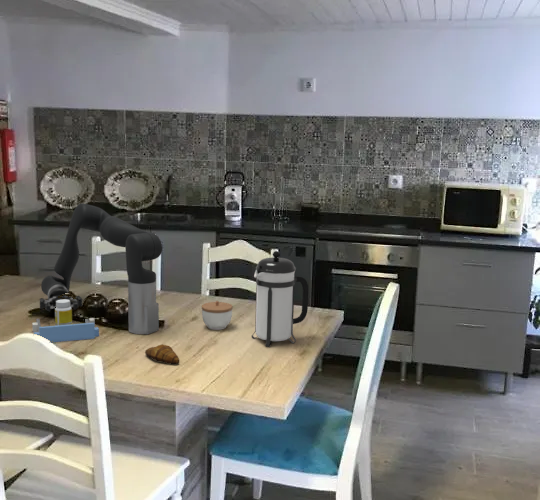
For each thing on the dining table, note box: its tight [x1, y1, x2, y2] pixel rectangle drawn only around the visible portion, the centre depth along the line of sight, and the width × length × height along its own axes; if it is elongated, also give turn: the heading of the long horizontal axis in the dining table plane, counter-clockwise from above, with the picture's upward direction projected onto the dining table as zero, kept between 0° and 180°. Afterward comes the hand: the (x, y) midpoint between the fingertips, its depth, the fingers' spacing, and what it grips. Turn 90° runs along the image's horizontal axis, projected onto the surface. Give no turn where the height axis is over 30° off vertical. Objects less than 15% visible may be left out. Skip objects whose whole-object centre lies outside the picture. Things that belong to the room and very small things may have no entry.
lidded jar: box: [201, 300, 234, 331], centre depth 227 cm, size 11×11×9 cm
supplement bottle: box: [54, 299, 73, 326], centre depth 220 cm, size 6×5×10 cm
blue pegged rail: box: [31, 317, 100, 343], centre depth 219 cm, size 24×20×5 cm
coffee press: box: [251, 250, 309, 348], centre depth 213 cm, size 17×16×30 cm
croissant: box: [144, 343, 180, 365], centre depth 194 cm, size 14×7×5 cm, turn 53°
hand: (62, 307), depth 225 cm, fingers open, 8 cm apart
